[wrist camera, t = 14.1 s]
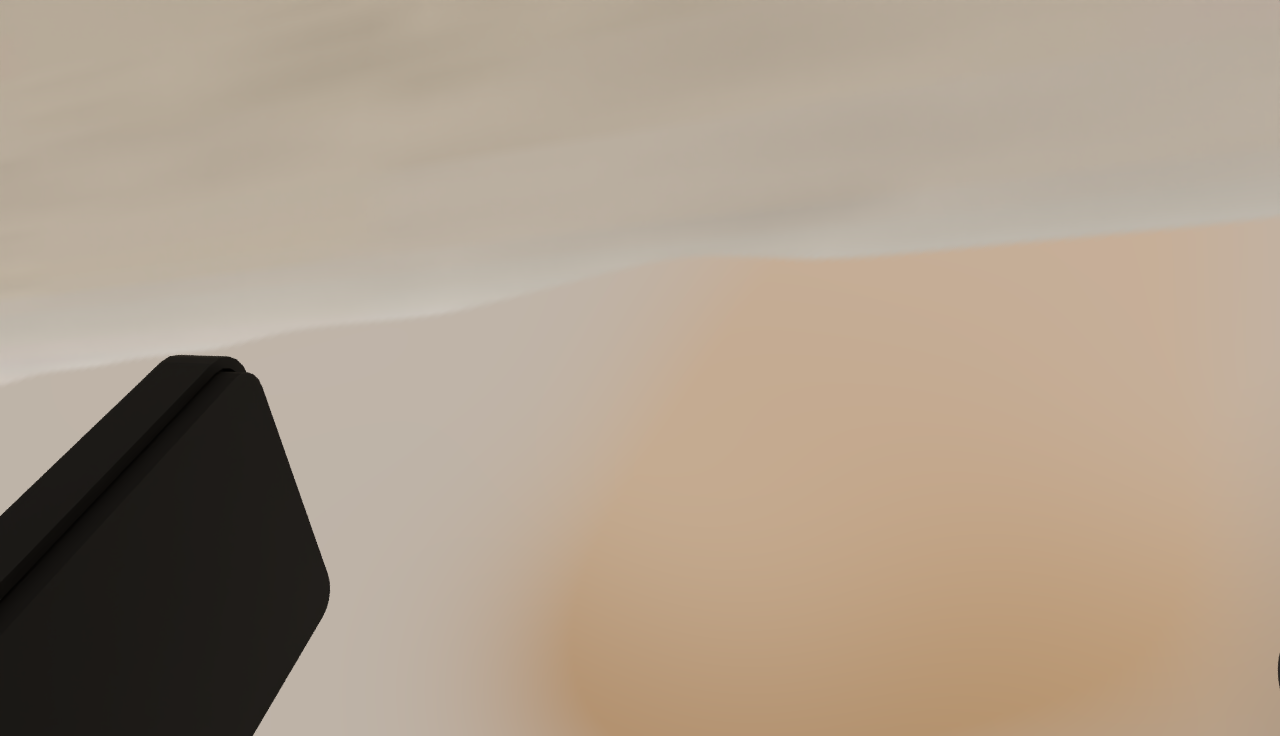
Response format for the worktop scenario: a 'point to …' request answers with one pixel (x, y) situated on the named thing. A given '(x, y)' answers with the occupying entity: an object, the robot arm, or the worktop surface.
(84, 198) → the worktop surface
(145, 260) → the worktop surface
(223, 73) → the worktop surface
